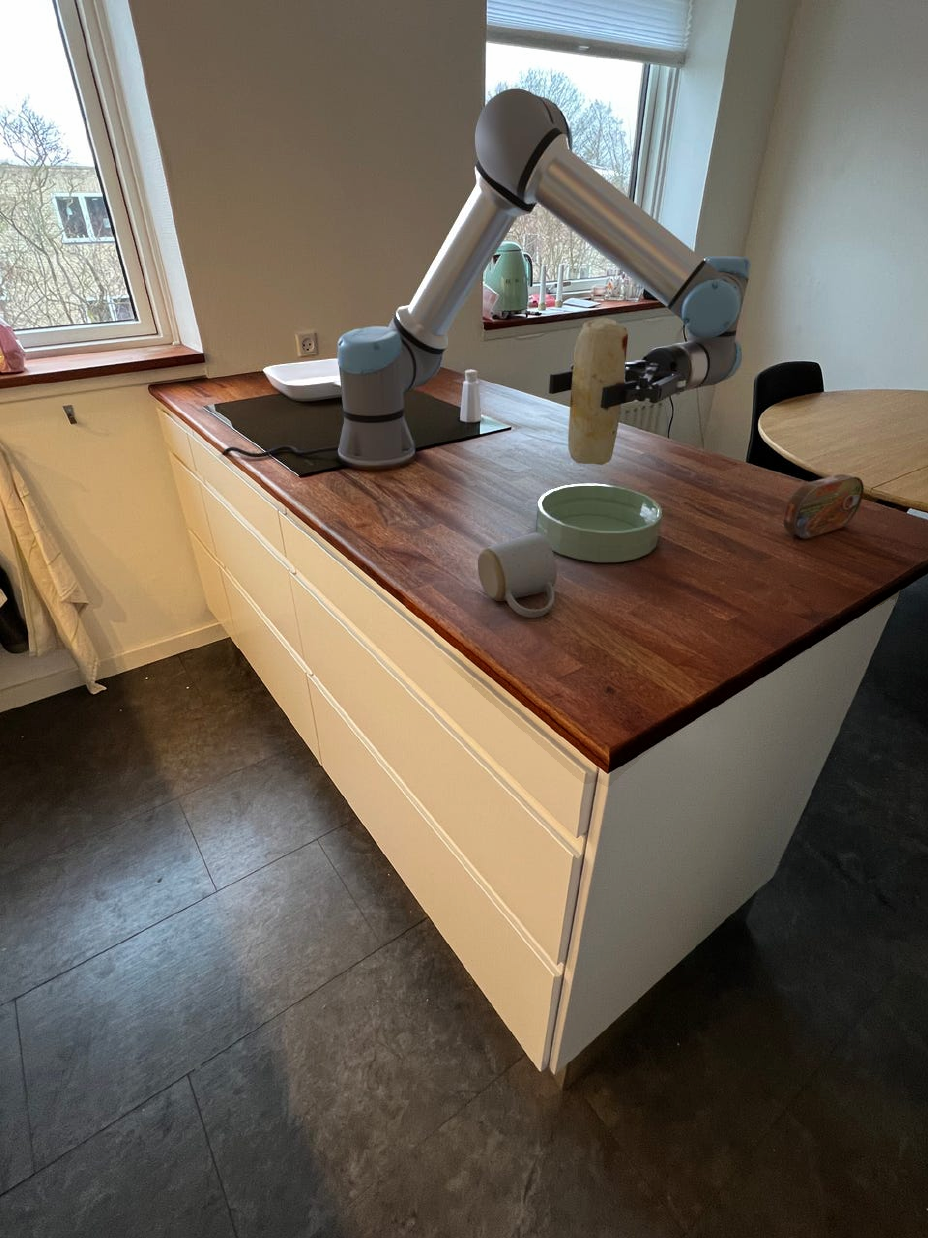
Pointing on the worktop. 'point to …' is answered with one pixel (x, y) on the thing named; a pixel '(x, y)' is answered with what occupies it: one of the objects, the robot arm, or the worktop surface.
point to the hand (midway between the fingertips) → (576, 390)
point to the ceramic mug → (519, 571)
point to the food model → (595, 390)
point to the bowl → (598, 522)
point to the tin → (823, 505)
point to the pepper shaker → (470, 398)
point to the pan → (306, 379)
